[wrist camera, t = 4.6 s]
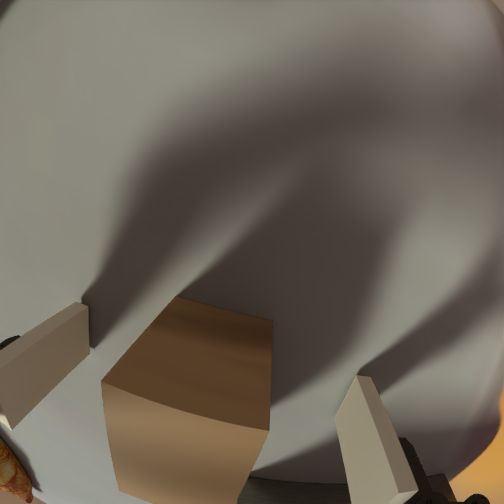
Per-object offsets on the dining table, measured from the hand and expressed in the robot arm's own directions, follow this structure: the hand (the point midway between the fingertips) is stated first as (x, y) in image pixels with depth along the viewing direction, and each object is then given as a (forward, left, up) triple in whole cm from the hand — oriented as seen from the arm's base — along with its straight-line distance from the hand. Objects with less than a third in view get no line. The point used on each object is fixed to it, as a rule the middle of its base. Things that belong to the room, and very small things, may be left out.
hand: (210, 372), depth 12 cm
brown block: (0, 0, 0) cm, 0 cm away
